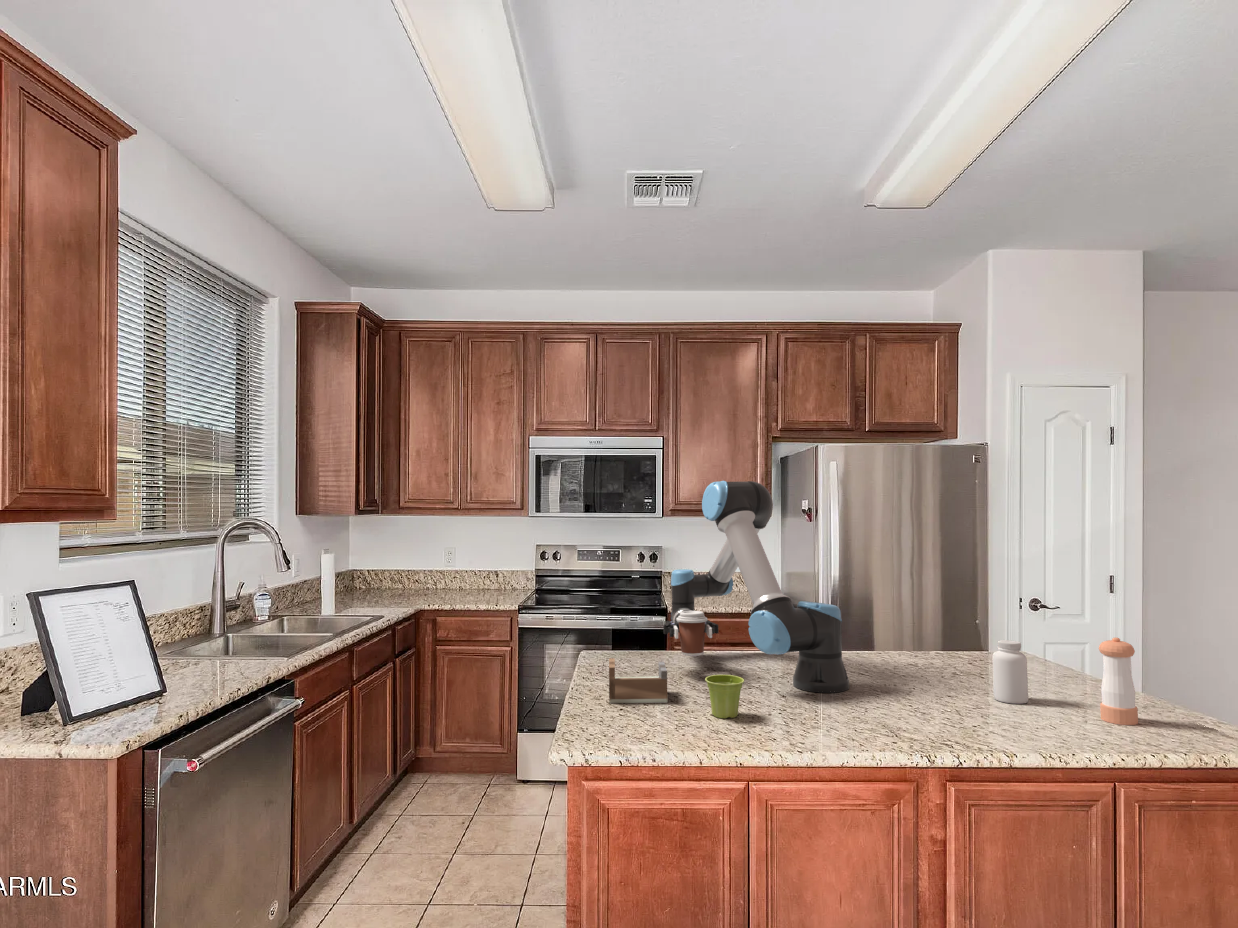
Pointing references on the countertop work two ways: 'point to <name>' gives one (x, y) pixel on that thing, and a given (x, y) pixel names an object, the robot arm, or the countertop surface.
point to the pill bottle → (1010, 673)
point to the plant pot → (724, 694)
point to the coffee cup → (692, 632)
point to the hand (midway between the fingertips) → (693, 633)
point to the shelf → (637, 687)
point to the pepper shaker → (1118, 683)
